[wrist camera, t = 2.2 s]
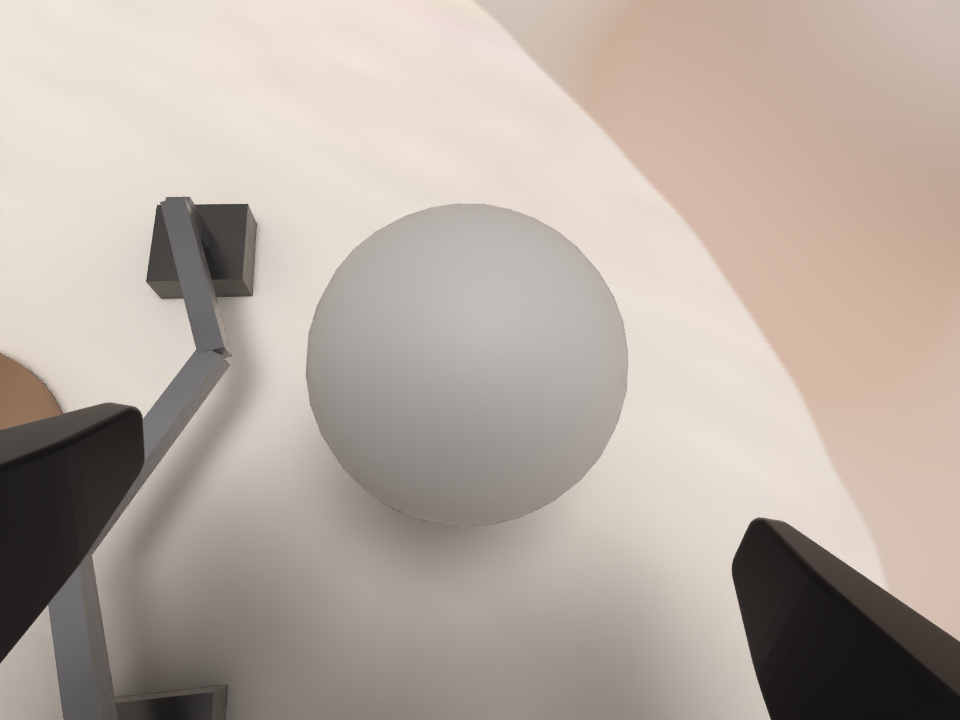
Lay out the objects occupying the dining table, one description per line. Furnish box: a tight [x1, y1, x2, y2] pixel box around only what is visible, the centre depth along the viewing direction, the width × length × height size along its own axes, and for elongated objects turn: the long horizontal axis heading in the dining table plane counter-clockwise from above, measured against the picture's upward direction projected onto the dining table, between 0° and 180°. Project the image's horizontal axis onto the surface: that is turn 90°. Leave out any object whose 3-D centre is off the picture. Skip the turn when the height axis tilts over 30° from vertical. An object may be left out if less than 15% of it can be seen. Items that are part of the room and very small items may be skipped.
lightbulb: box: [306, 204, 628, 526], centre depth 13 cm, size 6×6×11 cm
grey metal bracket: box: [48, 197, 257, 720], centre depth 16 cm, size 18×4×3 cm, turn 5°
